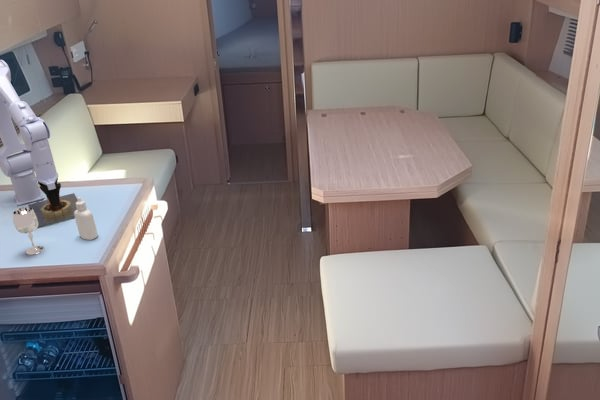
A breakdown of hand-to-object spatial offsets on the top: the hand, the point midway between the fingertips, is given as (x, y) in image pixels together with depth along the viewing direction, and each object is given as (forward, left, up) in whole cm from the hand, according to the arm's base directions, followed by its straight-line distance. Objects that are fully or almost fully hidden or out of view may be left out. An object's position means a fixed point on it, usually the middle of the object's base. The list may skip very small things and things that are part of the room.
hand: (54, 203), depth 169 cm
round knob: (0, 0, -1) cm, 1 cm away
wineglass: (+21, -9, -3) cm, 23 cm away
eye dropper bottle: (+22, +5, -3) cm, 23 cm away
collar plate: (-2, 0, -3) cm, 4 cm away
